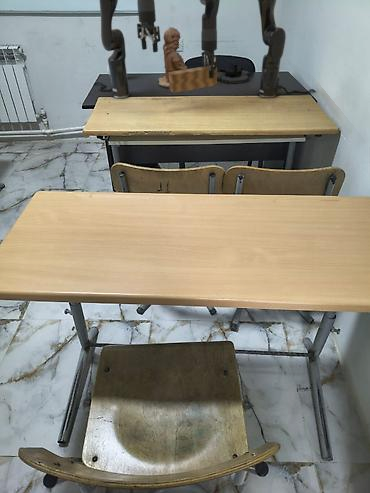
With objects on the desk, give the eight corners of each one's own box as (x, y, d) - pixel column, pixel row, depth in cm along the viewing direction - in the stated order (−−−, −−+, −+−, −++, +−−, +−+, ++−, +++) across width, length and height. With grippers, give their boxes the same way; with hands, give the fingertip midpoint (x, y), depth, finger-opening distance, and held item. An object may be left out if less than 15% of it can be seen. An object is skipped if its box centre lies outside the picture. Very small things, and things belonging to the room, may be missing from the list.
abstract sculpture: (216, 68, 212) (209, 60, 227) (216, 84, 218) (208, 75, 233) (257, 65, 215) (247, 57, 230) (255, 81, 221) (245, 73, 236)
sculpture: (197, 88, 213) (196, 30, 194) (156, 89, 214) (152, 31, 194) (196, 75, 234) (196, 22, 215) (159, 76, 235) (156, 23, 215)
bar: (173, 92, 177) (171, 74, 171) (169, 90, 180) (168, 72, 175) (216, 85, 183) (217, 67, 177) (212, 82, 186) (213, 65, 181)
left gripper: (163, 9, 154) (165, 51, 164) (143, 7, 162) (147, 47, 173) (149, 11, 150) (152, 54, 161) (130, 9, 159) (134, 49, 169)
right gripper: (222, 40, 166) (222, 79, 177) (210, 35, 176) (210, 72, 187) (208, 42, 164) (208, 81, 175) (196, 37, 174) (197, 74, 185)
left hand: (149, 50), depth 167 cm, fingers open, 8 cm apart
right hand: (209, 76), depth 181 cm, fingers closed on bar, 5 cm apart
